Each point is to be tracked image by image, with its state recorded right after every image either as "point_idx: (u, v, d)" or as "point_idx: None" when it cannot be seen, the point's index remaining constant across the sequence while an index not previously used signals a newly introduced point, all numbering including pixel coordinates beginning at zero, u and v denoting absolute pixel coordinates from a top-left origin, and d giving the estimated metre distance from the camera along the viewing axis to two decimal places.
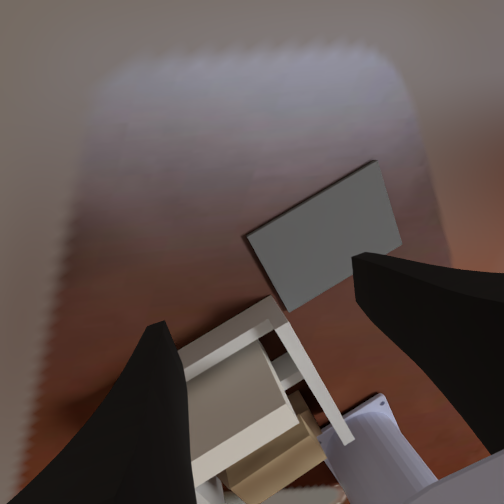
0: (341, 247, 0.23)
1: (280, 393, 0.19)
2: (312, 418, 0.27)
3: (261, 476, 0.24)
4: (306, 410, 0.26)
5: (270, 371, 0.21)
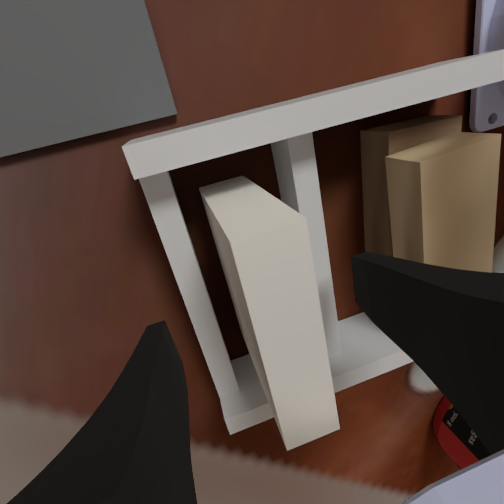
0: None
1: (224, 233, 0.09)
2: (414, 129, 0.13)
3: None
4: (387, 137, 0.13)
5: (214, 215, 0.10)
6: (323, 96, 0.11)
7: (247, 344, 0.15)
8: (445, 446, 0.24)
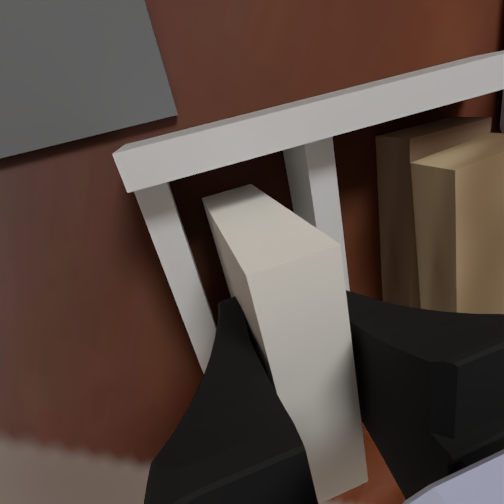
0: None
1: (238, 262, 0.07)
2: (438, 134, 0.12)
3: (475, 284, 0.12)
4: (408, 143, 0.12)
5: (222, 235, 0.09)
6: (349, 94, 0.09)
7: None
8: None
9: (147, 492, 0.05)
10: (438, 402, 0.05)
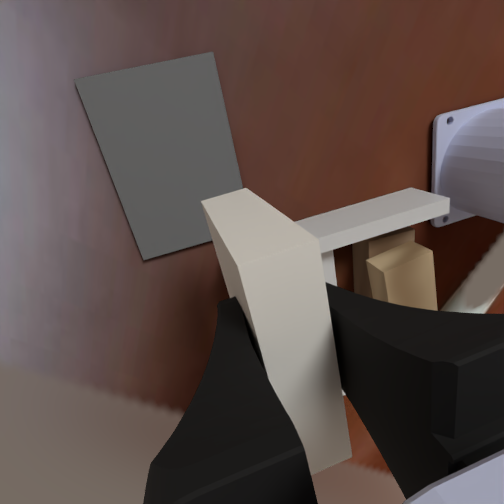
0: (188, 150, 0.18)
1: (231, 255, 0.08)
2: (385, 238, 0.22)
3: None
4: (368, 244, 0.22)
5: (219, 233, 0.10)
6: (340, 231, 0.19)
7: None
8: None
9: (146, 492, 0.05)
10: (438, 402, 0.05)
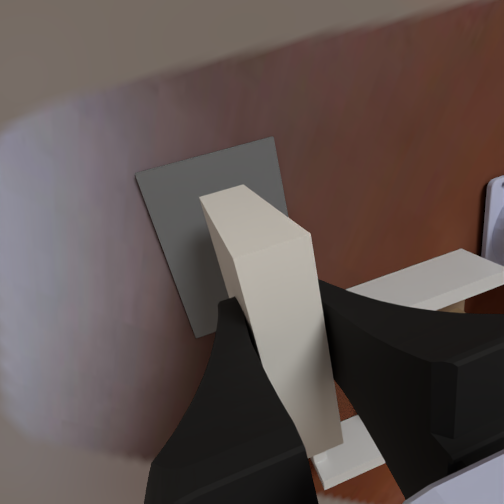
0: None
1: (227, 249, 0.08)
2: None
3: None
4: None
5: (216, 228, 0.10)
6: None
7: None
8: None
9: (147, 492, 0.05)
10: (438, 402, 0.05)
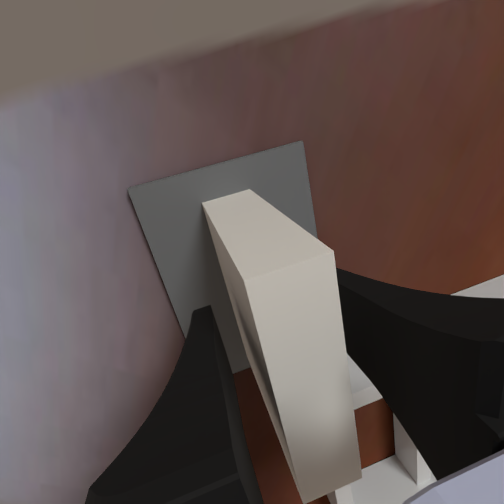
0: None
1: (236, 267, 0.07)
2: None
3: None
4: None
5: (222, 240, 0.09)
6: None
7: (254, 373, 0.14)
8: None
9: None
10: (485, 382, 0.06)
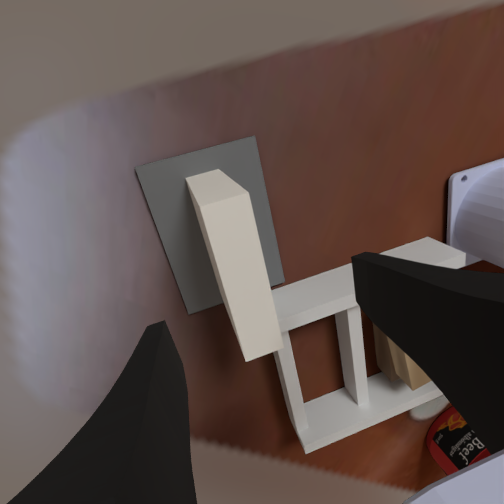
0: None
1: (197, 203, 0.13)
2: None
3: (417, 366, 0.25)
4: None
5: (193, 194, 0.15)
6: None
7: (223, 298, 0.20)
8: (434, 457, 0.35)
9: None
10: None
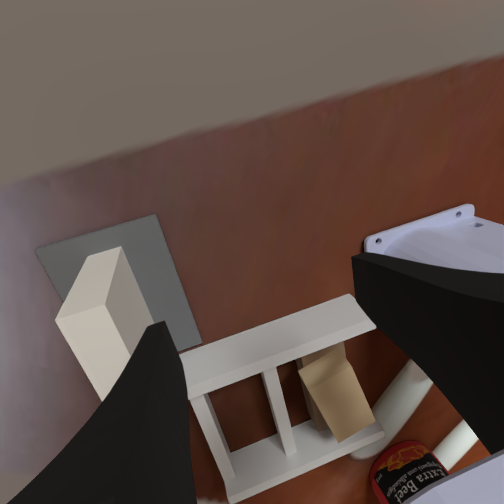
0: None
1: (60, 311, 0.14)
2: None
3: (338, 422, 0.25)
4: None
5: (71, 291, 0.16)
6: (275, 354, 0.22)
7: None
8: (376, 495, 0.35)
9: None
10: None
